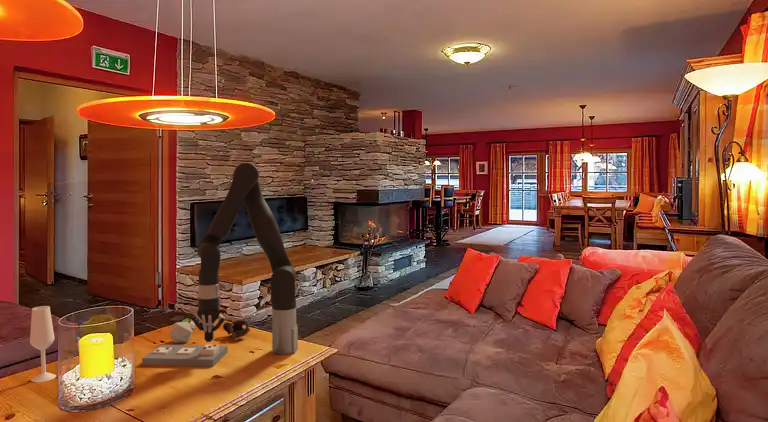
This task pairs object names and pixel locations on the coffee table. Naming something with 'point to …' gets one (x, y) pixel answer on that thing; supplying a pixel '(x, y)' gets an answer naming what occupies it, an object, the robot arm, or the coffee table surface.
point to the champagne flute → (42, 337)
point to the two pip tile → (163, 350)
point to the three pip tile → (210, 350)
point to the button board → (184, 357)
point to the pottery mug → (236, 328)
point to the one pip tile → (186, 351)
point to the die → (181, 332)
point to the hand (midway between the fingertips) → (208, 341)
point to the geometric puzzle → (190, 323)
